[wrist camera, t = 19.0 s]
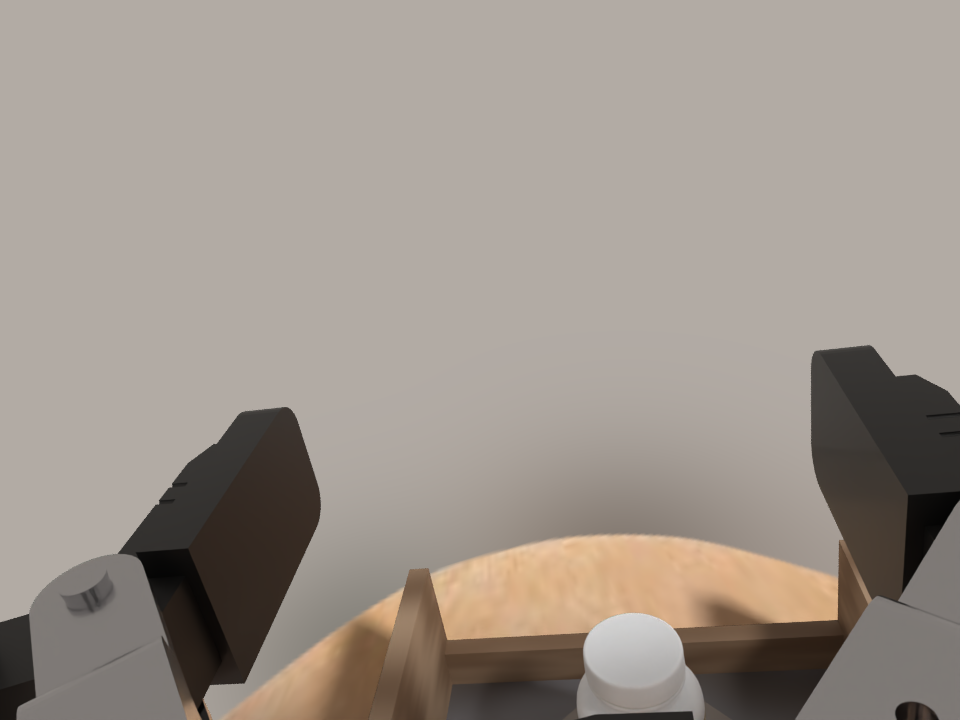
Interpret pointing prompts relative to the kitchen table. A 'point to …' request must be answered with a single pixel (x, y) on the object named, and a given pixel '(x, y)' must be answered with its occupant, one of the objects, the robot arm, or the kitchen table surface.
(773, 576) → the kitchen table surface
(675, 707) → the pill bottle
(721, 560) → the kitchen table surface
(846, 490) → the robot arm
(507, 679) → the walled box
